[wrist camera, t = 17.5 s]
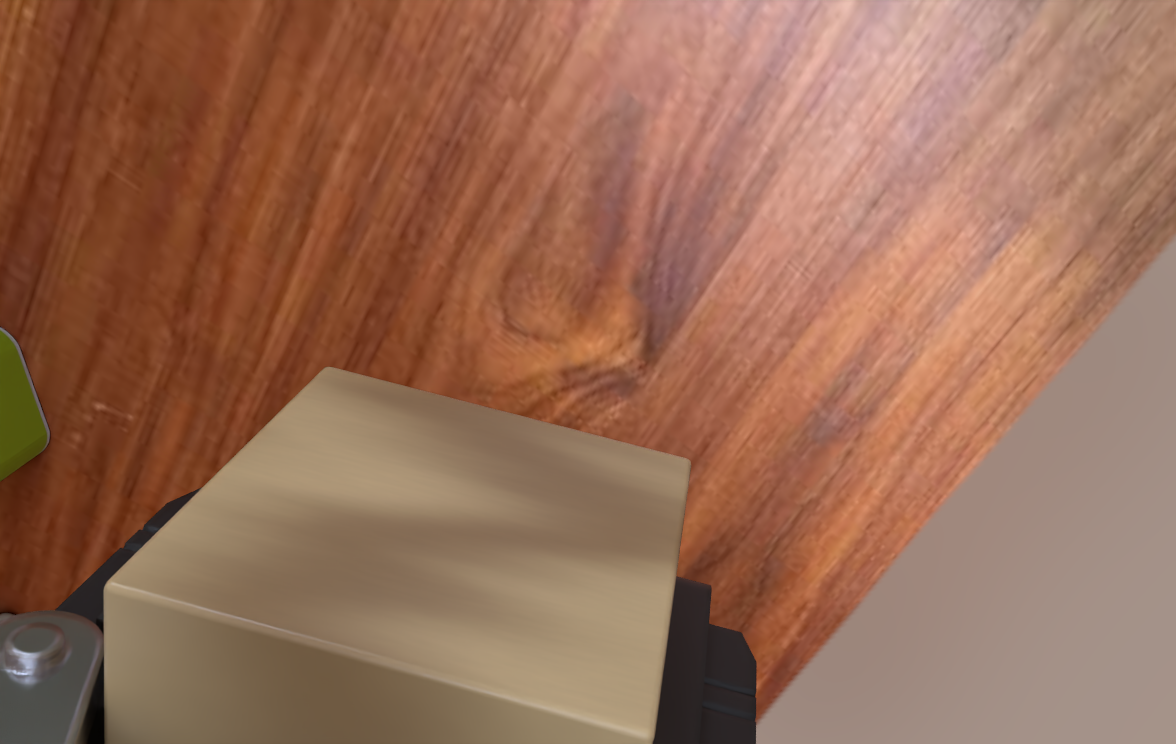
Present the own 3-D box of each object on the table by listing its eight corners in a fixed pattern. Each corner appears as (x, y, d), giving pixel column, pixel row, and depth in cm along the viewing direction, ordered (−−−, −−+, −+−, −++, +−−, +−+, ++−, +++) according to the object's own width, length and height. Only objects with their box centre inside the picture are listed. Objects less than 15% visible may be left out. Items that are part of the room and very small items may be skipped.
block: (693, 457, 13) (655, 736, 8) (612, 740, 15) (548, 1085, 11) (325, 363, 13) (99, 583, 9) (296, 652, 15) (101, 952, 11)
